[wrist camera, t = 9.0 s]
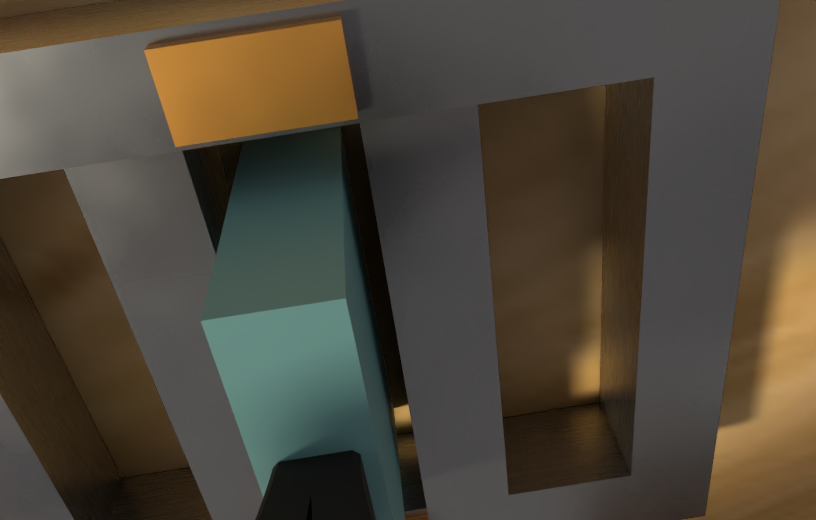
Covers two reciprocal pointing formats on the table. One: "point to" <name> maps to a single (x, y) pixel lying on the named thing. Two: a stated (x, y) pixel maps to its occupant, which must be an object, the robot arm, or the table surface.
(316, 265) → the panel
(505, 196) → the table surface
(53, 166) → the rack
